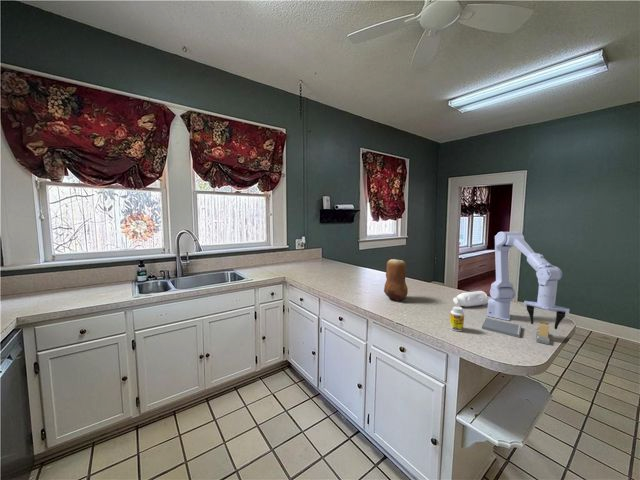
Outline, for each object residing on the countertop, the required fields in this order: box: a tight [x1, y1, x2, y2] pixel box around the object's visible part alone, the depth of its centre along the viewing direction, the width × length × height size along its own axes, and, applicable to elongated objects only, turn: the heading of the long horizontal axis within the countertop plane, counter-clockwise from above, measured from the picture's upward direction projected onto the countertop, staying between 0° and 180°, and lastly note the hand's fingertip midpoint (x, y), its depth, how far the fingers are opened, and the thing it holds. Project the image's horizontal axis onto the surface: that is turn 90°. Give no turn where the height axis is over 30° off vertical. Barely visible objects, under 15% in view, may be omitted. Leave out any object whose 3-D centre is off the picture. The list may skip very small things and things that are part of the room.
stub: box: [536, 321, 550, 345], centre depth 113 cm, size 4×12×6 cm, turn 140°
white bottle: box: [452, 290, 489, 308], centre depth 151 cm, size 8×19×8 cm, turn 105°
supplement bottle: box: [449, 305, 465, 332], centre depth 121 cm, size 6×6×10 cm
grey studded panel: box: [481, 317, 522, 339], centre depth 122 cm, size 14×12×1 cm
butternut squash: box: [383, 258, 409, 301], centre depth 161 cm, size 14×13×25 cm
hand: (543, 325), depth 113 cm, fingers open, 7 cm apart
